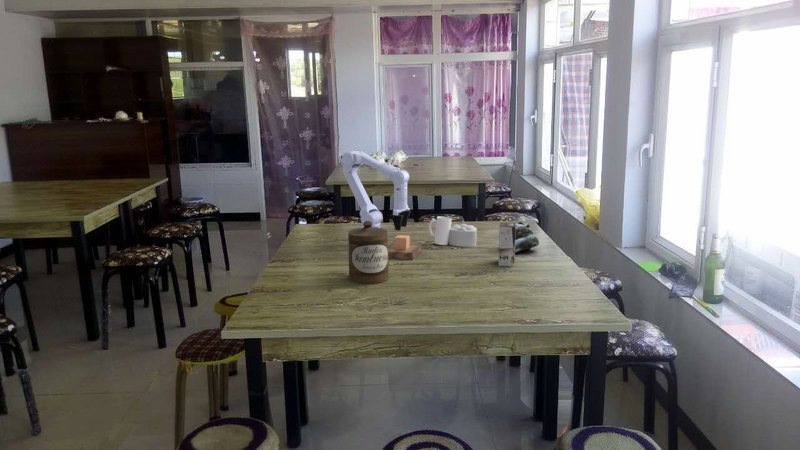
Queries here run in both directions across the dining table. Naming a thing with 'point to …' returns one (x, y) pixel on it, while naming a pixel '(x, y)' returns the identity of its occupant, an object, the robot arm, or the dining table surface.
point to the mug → (441, 230)
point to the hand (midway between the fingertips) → (400, 228)
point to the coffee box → (507, 244)
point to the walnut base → (404, 252)
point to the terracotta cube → (402, 242)
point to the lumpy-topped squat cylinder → (462, 235)
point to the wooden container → (368, 254)
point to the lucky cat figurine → (524, 237)
